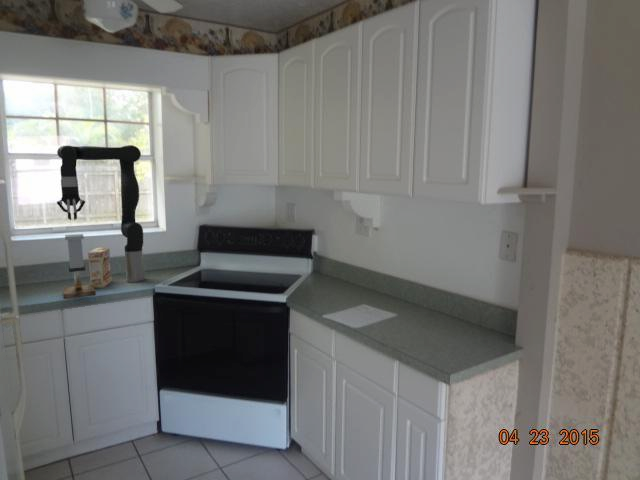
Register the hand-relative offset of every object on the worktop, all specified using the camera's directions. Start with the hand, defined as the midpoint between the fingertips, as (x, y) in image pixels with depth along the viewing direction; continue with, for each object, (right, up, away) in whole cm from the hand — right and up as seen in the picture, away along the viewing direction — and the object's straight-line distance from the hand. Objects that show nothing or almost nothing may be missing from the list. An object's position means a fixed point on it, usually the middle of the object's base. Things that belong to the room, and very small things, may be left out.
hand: (72, 219), depth 236 cm
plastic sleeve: (+3, -24, -2) cm, 24 cm away
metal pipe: (+3, -36, 0) cm, 36 cm away
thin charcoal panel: (+3, -25, -2) cm, 26 cm away
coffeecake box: (+7, -35, +17) cm, 40 cm away
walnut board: (+3, -38, 0) cm, 38 cm away
